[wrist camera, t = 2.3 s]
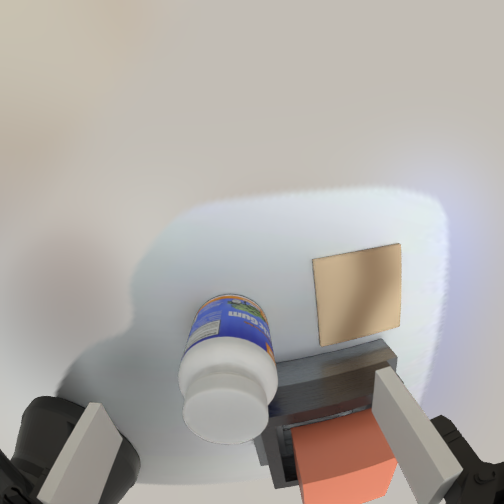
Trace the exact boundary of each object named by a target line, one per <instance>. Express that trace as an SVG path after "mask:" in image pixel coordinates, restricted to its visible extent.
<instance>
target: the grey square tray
mask: <svg viewBox="0 0 504 504" xmlns="http://www.w3.org/2000/svg"><path fill="white" fill-rule="evenodd" d="M389 366H391V368H392V369H393V370H394V372H395V373H396V366H397V356H396V354H395V353H394V352H393V351H392V350H391V349H390V348H389V346H388V345H387V344H386V343H385V342H384V341H383V339H379V340H376V341H372V342H369V343H365V344H361V345H358V346H354V347H350V348H346V349H342V350H338V351H334V352H329V353H325V354H321V355H316V356H312V357H307V358H302V359H297V360H292V361H287V362H281V363H276V369H277V376H278V387H277V391H276V394H275V396H274V398H273V400H272V401H271V402H270V404H269V405H268V414H269V418H268V423H267V426H266V427H265V429H264V430H263V432H262V433H261V434H260V435H258V436H257V437H255V438H254V439H253V440H254V444H255V447H256V451H257V454H258V458H259V461H260V465H261V466H264V465H269V468H270V472H271V476H272V480H273V484H274V487H275V489H278V488H285V487H291V486H296V485H299V482H298V477H297V473H296V466H295V458H294V451H293V443H292V435H291V429H290V430H285V431H283V428H282V425H288V424H293V423H298V422H303V421H308V420H313V419H317V418H321V417H325V416H330V415H334V414H337V413H341V412H345V411H349V410H352V409H353V413H356V412H359V411H362V410H366V409H369V408H372V402H373V393H374V383H375V371H376V370H380V369H383V368H386V367H389ZM396 374H397V373H396ZM397 376H398V375H397ZM398 377H399V376H398ZM399 378H400V377H399ZM400 380H401V379H400ZM401 381H402V380H401ZM402 383H403V384H404V382H403V381H402Z"/></svg>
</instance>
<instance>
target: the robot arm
mask: <svg viewBox="0 0 504 504" xmlns="http://www.w3.org/2000/svg"><path fill="white" fill-rule="evenodd" d="M371 411H372V413H373V415H374V417H375V419H376V421H377V423H378V425H379V427H380V429H381V431H382V432H383V434H384V436H385V438H386V440H387V442H388V444H389V446H390V448H391V450H392V452H393V454H394V456H395V458H396V460H397V462H398V464H399V466H400V468H401V470H402V472H403V474H404V476H405V478H406V480H407V482H408V484H409V486H410V488H411V490H412V492H413V494H414V496H415V498H416V501H417V503H418V504H439V503H440V502H441V500H442V499H443V498H444V499H445V501H446V504H504V462H501V463H498V464H492V463H487V462H483V461H481V460H480V459H479V458H478V456H477V455H476V453H475V452H474V451H473V449H472V448H471V447H470V445H469V444H468V443H467V441H466V440H465V439H464V437H462V435H461V434H460V432H459V431H458V430H457V428H456V427H455V425H454V424H453V423H452V422H451V420H449V419H447V418H446V417H444V416H442V415H440V416H438V417H435V418H433V419H431V420H429V419H428V417H427V416H426V414H425V413H424V412H423V410H422V409H421V407H420V406H419V404H418V403H417V402H416V400H415V399H414V398H413V396H412V395H411V393H410V392H409V391H408V389H407V388H406V387H405V385H404V384H403V383H402V381H401V380H400V378H399V377H398V376H397V374H396V373H395V372H394V370H393V369H392V368H391V366H389V367H386V368H383V369H380V370H376V371H375V383H374V393H373V402H372V410H371ZM139 469H140V460H139V457H138V455H137V453H136V451H135V450H134V448H133V447H132V445H131V444H130V443H129V442H128V441H127V440H126V439H125V438H124V437H123V436H122V435H121V434H120V433H119V432H118V430H117V429H116V427H115V426H114V424H113V422H112V421H111V419H110V417H109V416H108V414H107V412H106V410H105V409H104V407H103V405H102V403H92V402H90V403H89V404H88V406H87V408H86V409H84V408H82V407H80V406H78V405H76V404H74V403H72V402H69V401H66V400H63V399H60V398H56V397H51V396H41V397H37V398H35V399H34V400H33V401H32V402H31V403H30V405H29V406H28V407H27V408H26V410H25V411H24V413H23V415H22V422H21V427H20V430H19V434H18V438H17V443H16V447H15V452H14V455H13V457H12V459H11V460H9V459H8V458H7V457H6V456H5V454H4V453H3V452H2V451H1V450H0V504H118V503H119V501H120V500H121V499H122V498H123V496H124V495H125V494H126V492H127V491H128V490H129V488H131V487H132V486H133V485H134V484H135V482H136V480H137V476H138V473H139Z"/></svg>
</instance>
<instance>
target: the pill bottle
mask: <svg viewBox="0 0 504 504" xmlns="http://www.w3.org/2000/svg"><path fill="white" fill-rule="evenodd" d="M178 383H179V388H180V391H181V393H182V395H183V397H184V405H183V419H184V422H185V424H186V425H187V427H188V428H189V429H190V430H191V431H192V432H193V433H194V434H195V435H197V436H198V437H200V438H202V439H204V440H206V441H209V442H213V443H217V444H226V445H229V444H239V443H244V442H247V441H249V440H252V439H254V438H255V437H257V436H258V435H260V434H261V433H262V432H263V430H264V429H265V427H266V426H267V423H268V418H269V414H268V405H269V404H270V402H271V401H272V400H273V398H274V396H275V394H276V391H277V387H278V376H277V369H276V364H275V359H274V353H273V348H272V343H271V337H270V332H269V327H268V322H267V319H266V316H265V314H264V312H263V311H262V309H261V308H260V307H259V306H258V305H257V304H256V303H255V302H253V301H252V300H250V299H248V298H246V297H243V296H239V295H222V296H218V297H215V298H213V299H211V300H209V301H208V302H206V303H205V304H204V305H203V306H202V307H201V308H200V310H199V311H198V313H197V315H196V316H195V319H194V322H193V325H192V328H191V331H190V335H189V338H188V341H187V344H186V347H185V351H184V354H183V357H182V360H181V364H180V368H179V372H178Z"/></svg>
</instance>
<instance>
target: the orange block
mask: <svg viewBox="0 0 504 504" xmlns="http://www.w3.org/2000/svg"><path fill="white" fill-rule="evenodd" d="M371 410H372V408H369V409H366V410H362V411H359V412H356V413H352V414H349V415H345V416H341V417H338V418H334V419H330V420H326V421H322V422H317V423H313V424H308V425H304V426H299V427H294V428H291V435H292V443H293V451H294V458H295V466H296V473H297V477H298V482H299V487H300V492H301V497H302V502H303V504H362V503H365V502H368V501H371V500H374V499H376V498H379V497H382V496H384V495H385V494H386V492H387V489H388V486H389V484H390V482H391V479H392V477H393V474H394V471H395V468H396V466H397V463H398V462H397V460H396V458H395V456H394V454H393V452H392V450H391V448H390V446H389V444H388V442H387V440H386V438H385V436H384V434H383V432H382V431H381V429H380V427H379V425H378V423H377V421H376V419H375V417H374V415H373V413H372V411H371Z"/></svg>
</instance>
